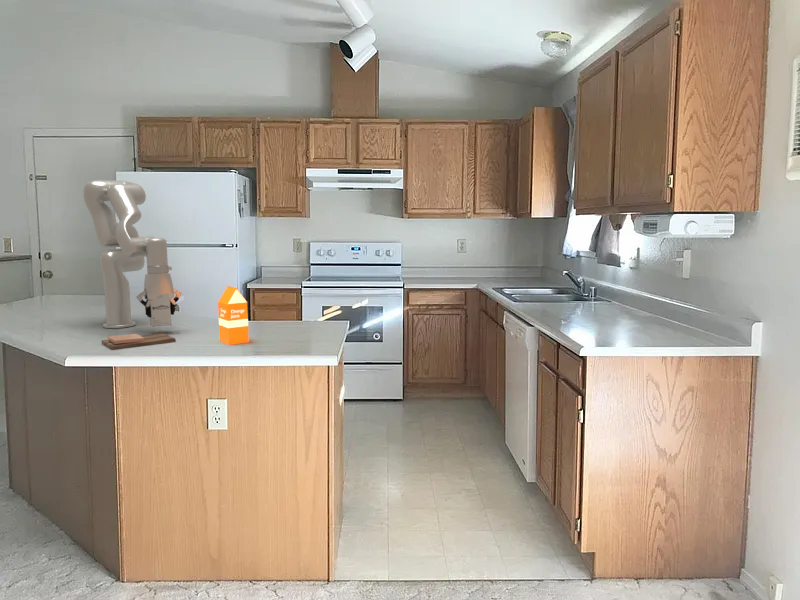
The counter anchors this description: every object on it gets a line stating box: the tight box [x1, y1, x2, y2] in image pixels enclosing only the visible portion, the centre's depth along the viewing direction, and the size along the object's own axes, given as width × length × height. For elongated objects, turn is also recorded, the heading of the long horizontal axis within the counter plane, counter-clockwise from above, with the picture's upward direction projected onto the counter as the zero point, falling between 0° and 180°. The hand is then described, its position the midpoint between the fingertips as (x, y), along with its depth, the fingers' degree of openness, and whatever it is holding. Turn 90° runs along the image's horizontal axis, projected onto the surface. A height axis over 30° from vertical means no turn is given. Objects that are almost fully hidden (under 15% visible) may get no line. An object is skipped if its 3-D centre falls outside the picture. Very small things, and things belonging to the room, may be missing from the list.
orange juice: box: [217, 285, 250, 346], centre depth 243 cm, size 8×9×20 cm
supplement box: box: [149, 293, 172, 328], centre depth 260 cm, size 7×7×13 cm
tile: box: [107, 333, 145, 344], centre depth 241 cm, size 10×10×1 cm
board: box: [100, 332, 176, 351], centre depth 243 cm, size 14×22×1 cm, turn 127°
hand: (160, 315), depth 259 cm, fingers closed on supplement box, 8 cm apart
